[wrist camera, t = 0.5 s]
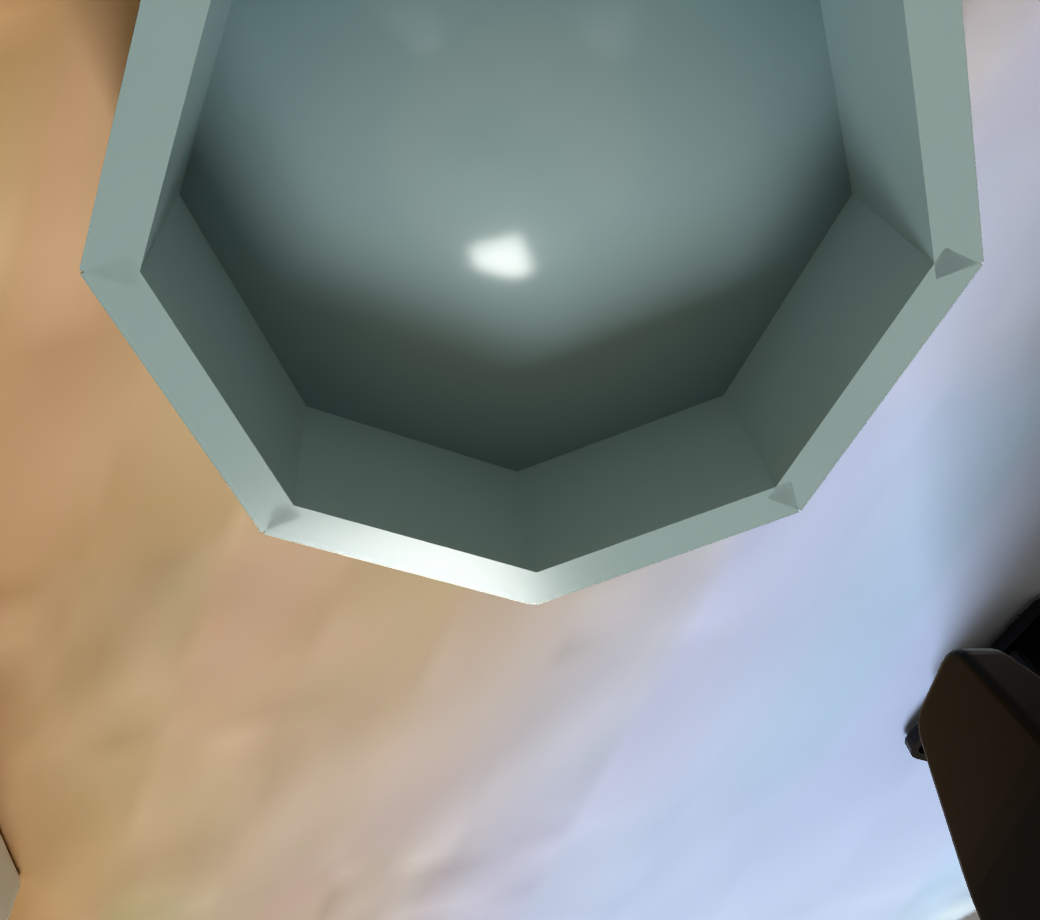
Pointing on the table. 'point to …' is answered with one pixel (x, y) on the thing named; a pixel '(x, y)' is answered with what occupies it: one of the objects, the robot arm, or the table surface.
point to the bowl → (533, 261)
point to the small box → (7, 882)
